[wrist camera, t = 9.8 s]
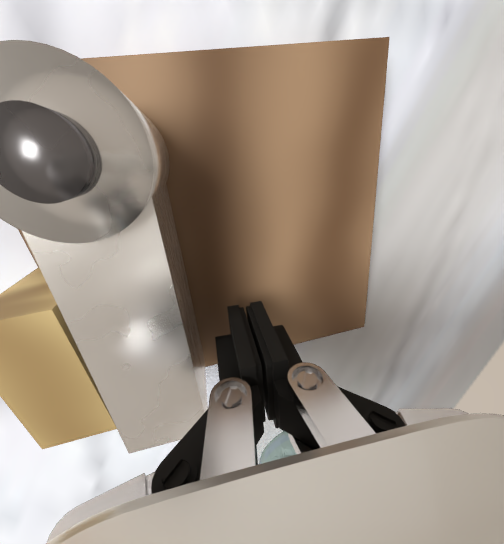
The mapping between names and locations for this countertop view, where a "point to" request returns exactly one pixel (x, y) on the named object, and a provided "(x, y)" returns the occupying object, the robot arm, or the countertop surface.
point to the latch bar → (102, 236)
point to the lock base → (230, 208)
